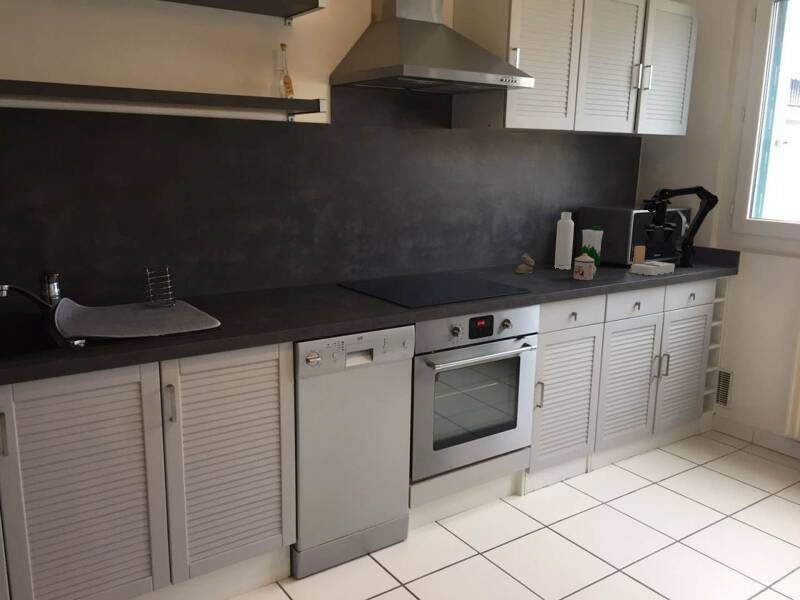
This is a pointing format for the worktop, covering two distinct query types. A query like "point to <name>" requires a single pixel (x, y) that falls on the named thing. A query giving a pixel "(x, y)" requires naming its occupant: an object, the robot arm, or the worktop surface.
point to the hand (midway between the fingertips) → (657, 243)
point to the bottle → (564, 241)
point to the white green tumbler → (592, 243)
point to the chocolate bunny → (526, 265)
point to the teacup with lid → (584, 268)
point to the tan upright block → (639, 254)
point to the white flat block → (652, 268)
